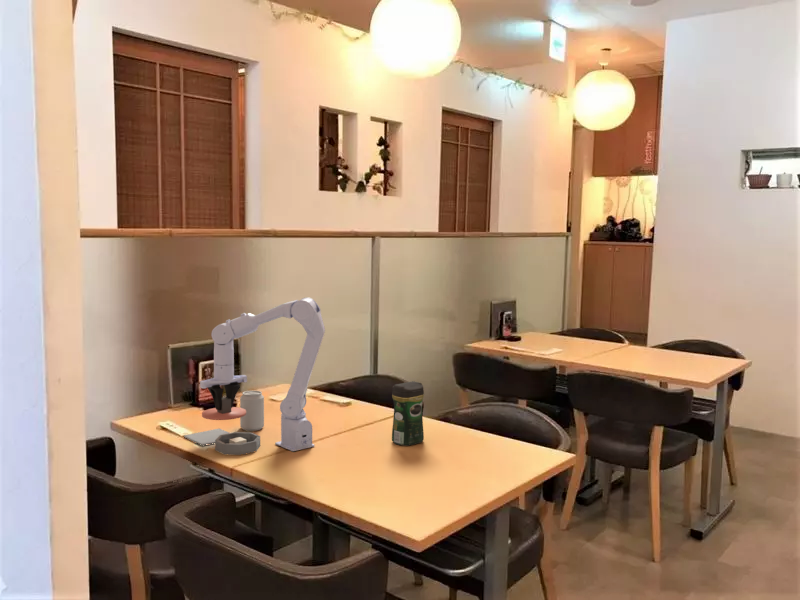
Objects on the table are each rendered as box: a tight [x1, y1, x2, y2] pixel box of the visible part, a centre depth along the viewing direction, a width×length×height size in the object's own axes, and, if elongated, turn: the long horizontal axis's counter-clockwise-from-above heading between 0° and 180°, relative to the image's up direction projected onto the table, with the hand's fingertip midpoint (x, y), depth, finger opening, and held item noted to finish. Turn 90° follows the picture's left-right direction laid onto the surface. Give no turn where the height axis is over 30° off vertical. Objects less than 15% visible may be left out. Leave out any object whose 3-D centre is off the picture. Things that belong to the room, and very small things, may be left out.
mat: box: [183, 427, 230, 446], centre depth 213 cm, size 12×12×1 cm
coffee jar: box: [391, 380, 425, 447], centre depth 212 cm, size 10×8×19 cm
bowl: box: [214, 431, 261, 456], centre depth 204 cm, size 12×12×3 cm
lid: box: [201, 396, 246, 421], centre depth 207 cm, size 13×13×5 cm
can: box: [239, 390, 265, 432], centre depth 224 cm, size 8×8×12 cm
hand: (224, 408), depth 207 cm, fingers closed on lid, 3 cm apart
